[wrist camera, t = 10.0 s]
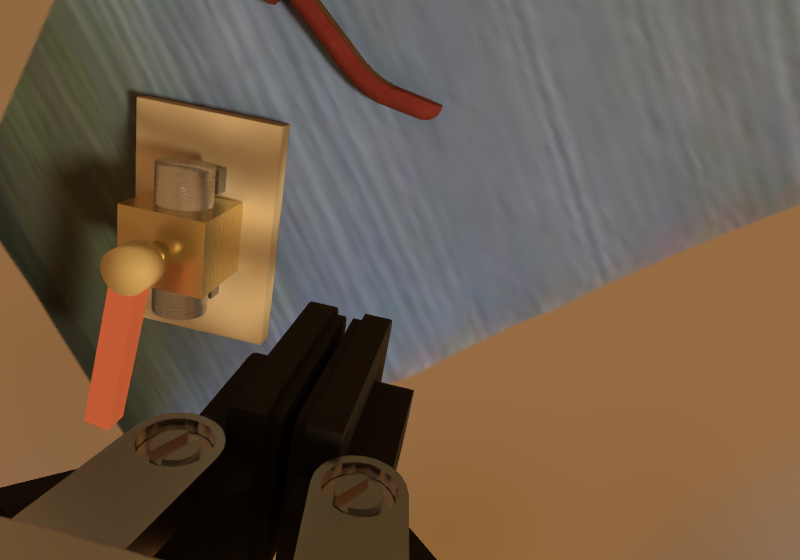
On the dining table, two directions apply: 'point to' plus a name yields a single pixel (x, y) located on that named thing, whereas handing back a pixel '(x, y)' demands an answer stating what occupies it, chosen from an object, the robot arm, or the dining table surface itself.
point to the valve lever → (121, 326)
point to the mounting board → (246, 182)
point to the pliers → (360, 63)
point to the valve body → (185, 233)
